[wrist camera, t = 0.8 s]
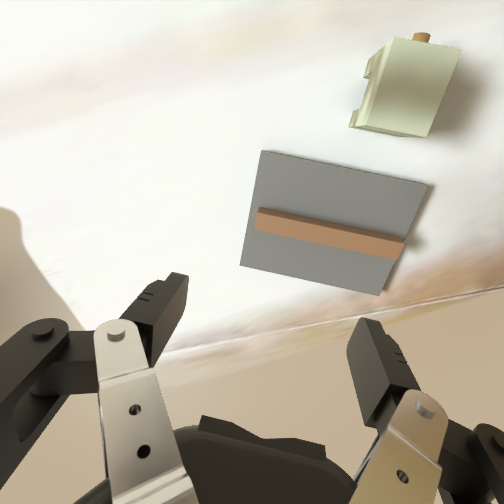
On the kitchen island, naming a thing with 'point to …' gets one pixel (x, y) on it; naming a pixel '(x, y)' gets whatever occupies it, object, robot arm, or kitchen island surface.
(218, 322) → the kitchen island surface
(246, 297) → the kitchen island surface
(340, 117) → the kitchen island surface
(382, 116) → the sage block
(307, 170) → the cleat board
